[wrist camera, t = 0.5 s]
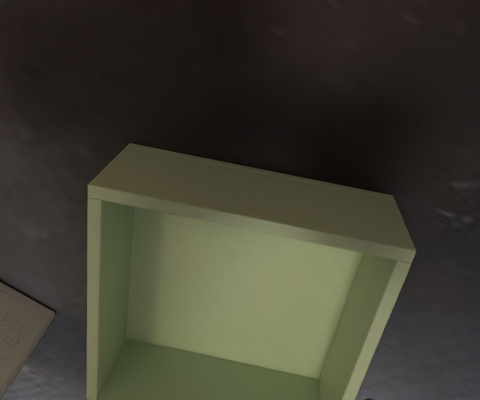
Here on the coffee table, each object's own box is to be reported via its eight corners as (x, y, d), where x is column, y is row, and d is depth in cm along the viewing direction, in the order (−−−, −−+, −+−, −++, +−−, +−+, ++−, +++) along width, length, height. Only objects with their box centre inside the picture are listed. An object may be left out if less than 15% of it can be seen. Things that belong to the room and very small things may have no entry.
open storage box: (325, 381, 28) (330, 458, 23) (119, 337, 28) (86, 405, 24) (393, 195, 22) (417, 251, 17) (129, 142, 22) (86, 184, 18)
